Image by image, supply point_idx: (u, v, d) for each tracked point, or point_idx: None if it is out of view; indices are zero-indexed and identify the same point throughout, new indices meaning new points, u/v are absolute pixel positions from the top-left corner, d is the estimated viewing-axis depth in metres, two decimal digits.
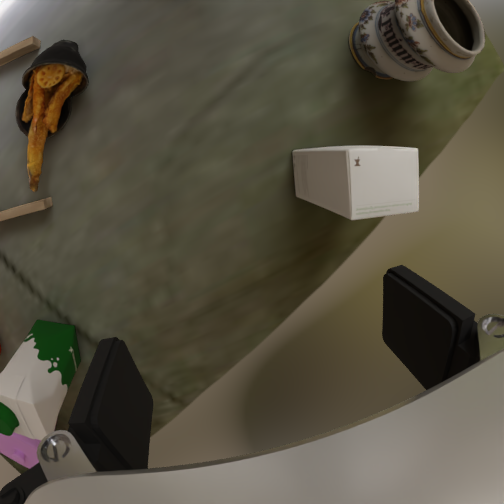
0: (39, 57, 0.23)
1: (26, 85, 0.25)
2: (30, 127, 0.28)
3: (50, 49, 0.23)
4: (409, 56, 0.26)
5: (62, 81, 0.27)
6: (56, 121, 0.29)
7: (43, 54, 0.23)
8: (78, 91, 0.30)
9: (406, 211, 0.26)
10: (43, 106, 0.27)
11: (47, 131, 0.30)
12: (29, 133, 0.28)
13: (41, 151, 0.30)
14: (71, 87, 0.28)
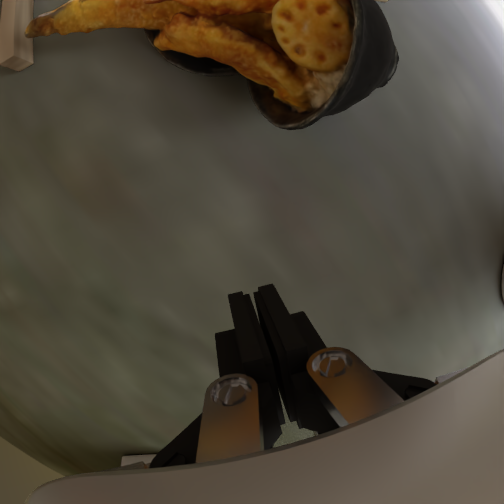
0: (370, 0, 0.08)
1: None
2: None
3: (388, 31, 0.09)
4: None
5: (286, 59, 0.11)
6: (177, 49, 0.12)
7: (378, 10, 0.09)
8: (257, 91, 0.15)
9: None
10: (217, 13, 0.10)
11: (157, 28, 0.12)
12: None
13: (106, 24, 0.11)
14: (266, 83, 0.12)
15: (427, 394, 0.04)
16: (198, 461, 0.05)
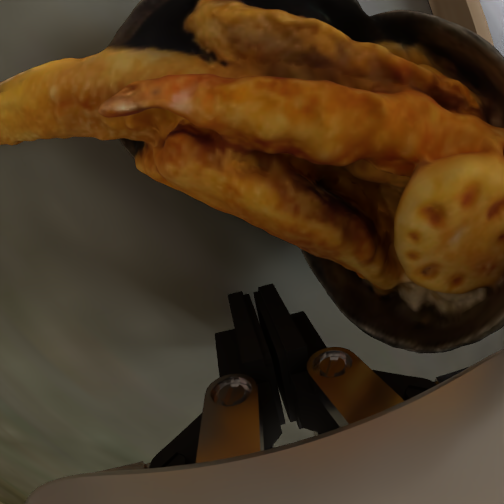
0: None
1: (394, 25, 0.05)
2: (153, 52, 0.06)
3: None
4: None
5: (382, 236, 0.07)
6: (181, 190, 0.08)
7: None
8: None
9: None
10: (268, 152, 0.06)
11: (138, 140, 0.07)
12: (121, 54, 0.05)
13: (45, 136, 0.06)
14: None
15: (427, 394, 0.04)
16: (198, 461, 0.05)
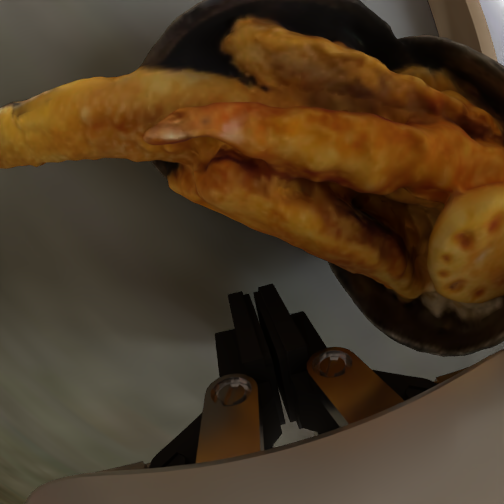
0: None
1: (422, 50, 0.05)
2: (190, 74, 0.06)
3: None
4: None
5: (410, 251, 0.07)
6: None
7: None
8: None
9: None
10: (315, 180, 0.06)
11: (173, 161, 0.08)
12: (158, 75, 0.06)
13: (74, 158, 0.07)
14: None
15: (427, 394, 0.04)
16: (198, 461, 0.05)
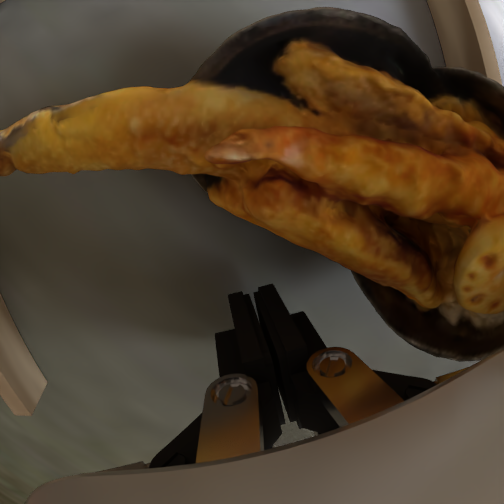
0: None
1: (454, 81, 0.06)
2: (243, 92, 0.06)
3: None
4: None
5: (433, 266, 0.08)
6: (261, 226, 0.08)
7: None
8: None
9: None
10: (362, 204, 0.06)
11: (217, 174, 0.08)
12: (212, 91, 0.06)
13: (117, 167, 0.07)
14: None
15: (427, 394, 0.04)
16: (198, 461, 0.05)
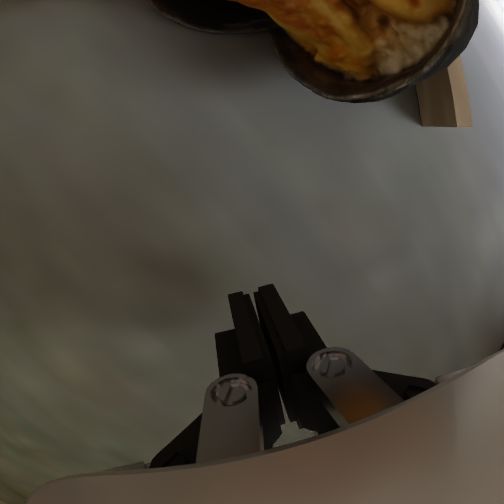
0: None
1: None
2: None
3: None
4: None
5: None
6: None
7: None
8: (288, 54, 0.10)
9: None
10: None
11: None
12: None
13: None
14: (315, 36, 0.07)
15: (427, 394, 0.04)
16: (198, 461, 0.05)
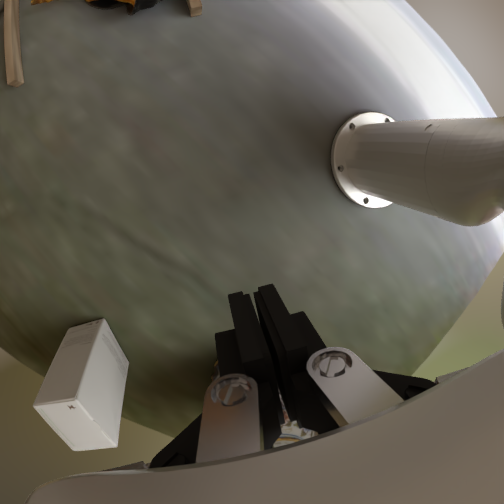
0: None
1: None
2: None
3: None
4: None
5: None
6: None
7: None
8: (129, 8, 0.25)
9: (66, 442, 0.24)
10: None
11: None
12: None
13: None
14: (125, 0, 0.23)
15: (427, 394, 0.04)
16: (198, 461, 0.05)
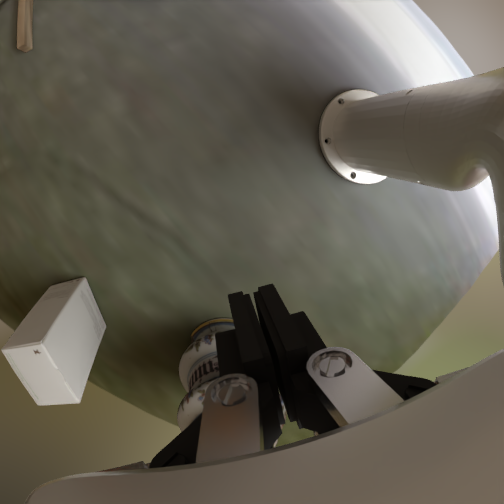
0: None
1: None
2: None
3: None
4: (190, 387, 0.32)
5: None
6: None
7: None
8: None
9: (31, 395, 0.24)
10: None
11: None
12: None
13: None
14: None
15: (427, 394, 0.04)
16: (198, 461, 0.05)
